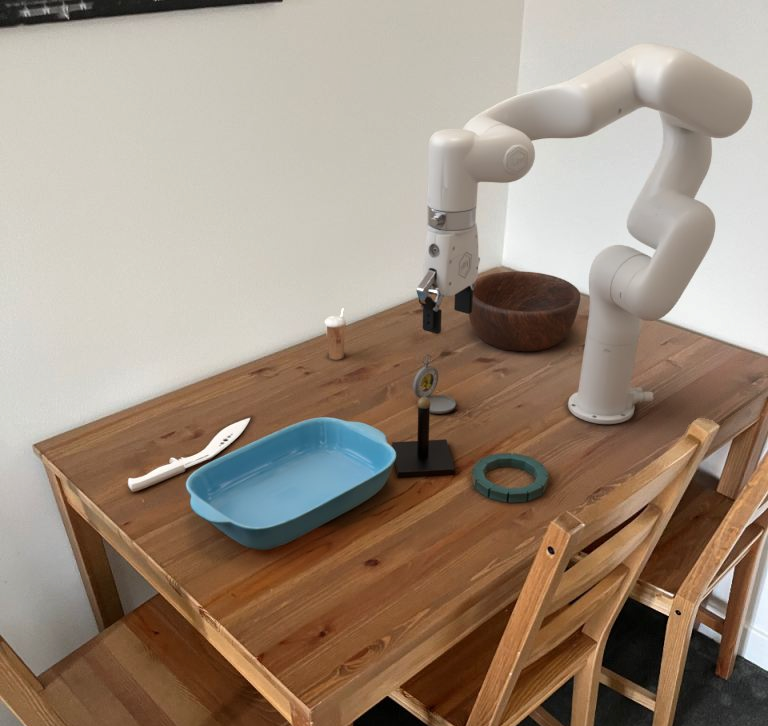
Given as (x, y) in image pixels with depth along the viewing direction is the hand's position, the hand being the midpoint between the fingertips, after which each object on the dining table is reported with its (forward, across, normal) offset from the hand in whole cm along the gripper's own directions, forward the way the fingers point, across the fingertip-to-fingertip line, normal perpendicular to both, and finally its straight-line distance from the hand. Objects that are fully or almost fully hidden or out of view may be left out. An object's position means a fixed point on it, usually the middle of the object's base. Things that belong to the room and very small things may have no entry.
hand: (447, 321), depth 142 cm
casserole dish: (+24, -29, +11) cm, 39 cm away
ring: (+24, -3, -16) cm, 29 cm away
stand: (+24, -6, 0) cm, 25 cm away
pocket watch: (+24, +12, +10) cm, 29 cm away
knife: (+24, -28, +35) cm, 51 cm away
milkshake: (+24, +18, +39) cm, 49 cm away
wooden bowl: (+25, +51, +12) cm, 58 cm away
